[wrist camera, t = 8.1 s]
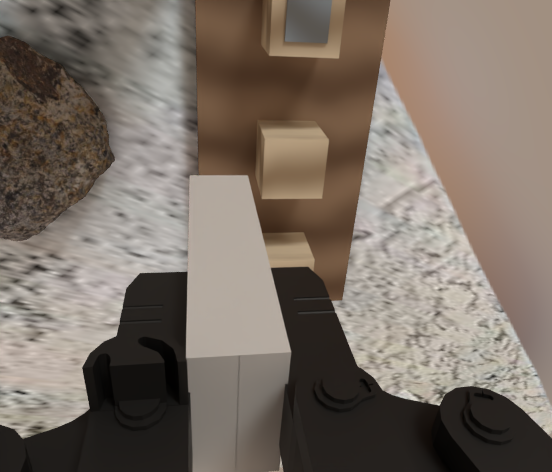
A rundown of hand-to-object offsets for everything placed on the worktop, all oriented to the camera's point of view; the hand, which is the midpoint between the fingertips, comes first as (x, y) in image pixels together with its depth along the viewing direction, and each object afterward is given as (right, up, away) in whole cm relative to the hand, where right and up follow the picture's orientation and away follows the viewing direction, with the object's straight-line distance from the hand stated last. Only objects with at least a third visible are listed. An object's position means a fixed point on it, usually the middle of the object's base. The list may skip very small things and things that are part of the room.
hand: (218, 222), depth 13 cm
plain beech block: (+2, +7, +29) cm, 30 cm away
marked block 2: (+3, +17, +24) cm, 29 cm away
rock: (-20, +8, +28) cm, 35 cm away
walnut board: (+2, +8, +31) cm, 32 cm away
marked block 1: (+2, -2, +35) cm, 35 cm away
